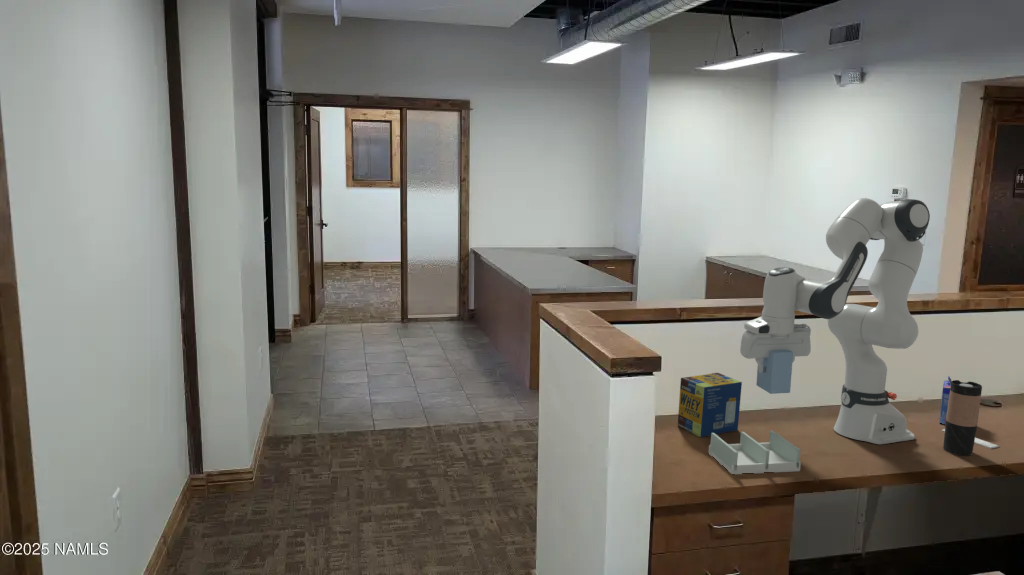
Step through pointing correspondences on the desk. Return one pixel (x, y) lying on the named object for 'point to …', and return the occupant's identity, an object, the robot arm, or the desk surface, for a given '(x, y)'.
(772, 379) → the blue block
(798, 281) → the robot arm
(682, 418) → the protein box
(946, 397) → the ink cartridge box
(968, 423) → the travel mug
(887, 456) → the desk surface
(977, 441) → the flat white bar
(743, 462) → the slot rack
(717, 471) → the desk surface
